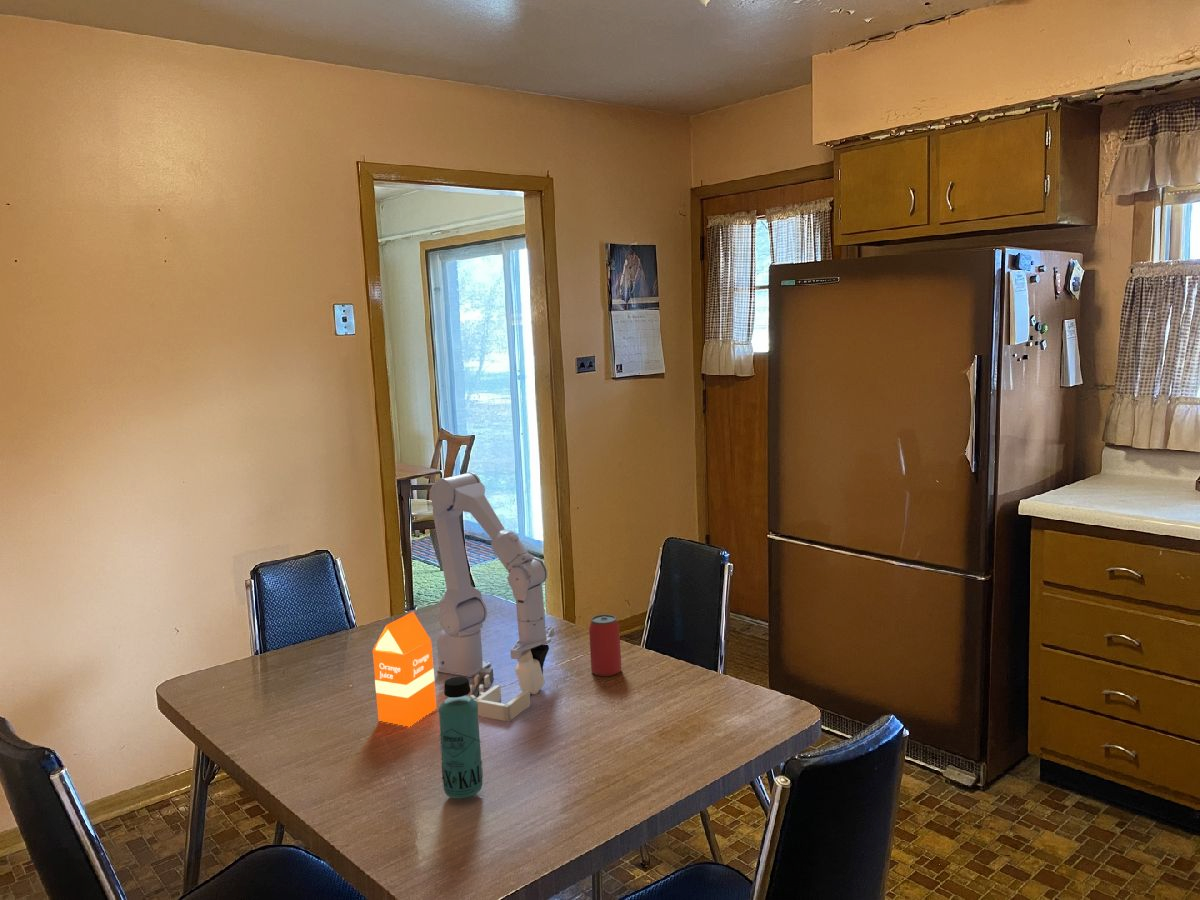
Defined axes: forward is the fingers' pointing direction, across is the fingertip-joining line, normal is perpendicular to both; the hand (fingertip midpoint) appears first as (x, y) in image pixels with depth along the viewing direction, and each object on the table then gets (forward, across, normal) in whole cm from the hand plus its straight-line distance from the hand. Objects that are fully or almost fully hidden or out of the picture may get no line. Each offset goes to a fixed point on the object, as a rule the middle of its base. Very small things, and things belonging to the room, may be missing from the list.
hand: (536, 679), depth 184 cm
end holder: (+2, -12, +1) cm, 12 cm away
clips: (+1, -8, +9) cm, 12 cm away
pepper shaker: (+1, -2, 0) cm, 2 cm away
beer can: (+2, +13, -10) cm, 16 cm away
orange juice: (+1, -21, +17) cm, 27 cm away
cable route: (+1, -6, +9) cm, 11 cm away
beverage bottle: (+2, -42, -11) cm, 44 cm away
